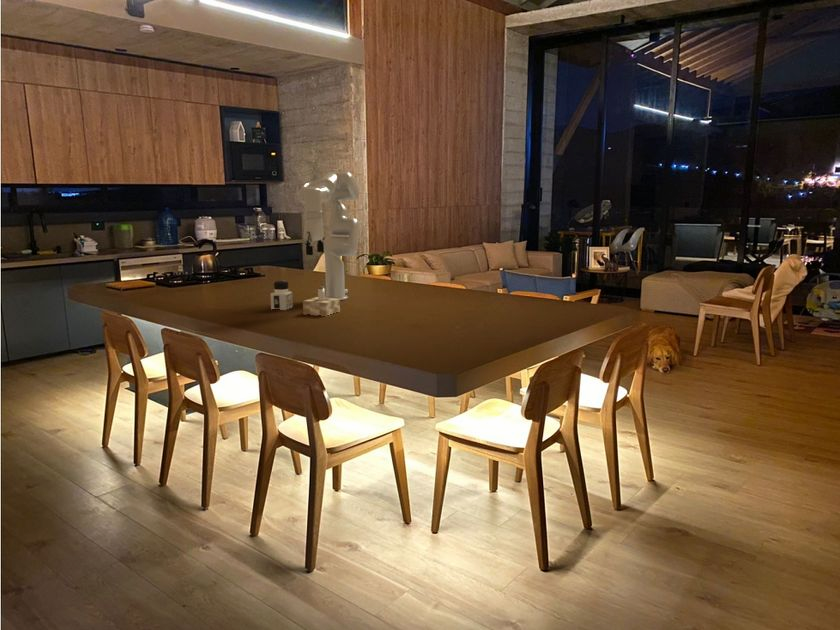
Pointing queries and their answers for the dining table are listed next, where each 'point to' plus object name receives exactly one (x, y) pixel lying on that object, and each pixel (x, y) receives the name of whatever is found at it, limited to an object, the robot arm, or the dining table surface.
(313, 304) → the square wooden hole block
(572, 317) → the dining table surface
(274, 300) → the container
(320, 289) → the peg
